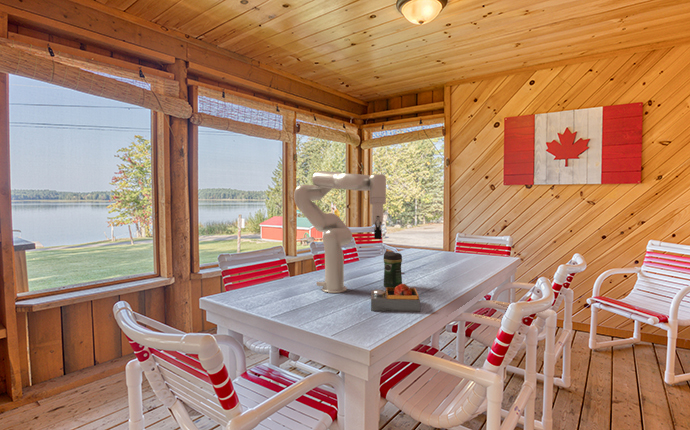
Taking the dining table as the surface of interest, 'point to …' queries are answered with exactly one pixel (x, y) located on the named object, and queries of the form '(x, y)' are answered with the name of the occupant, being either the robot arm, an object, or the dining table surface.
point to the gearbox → (394, 301)
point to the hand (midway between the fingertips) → (377, 237)
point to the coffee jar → (392, 269)
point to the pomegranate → (402, 290)
